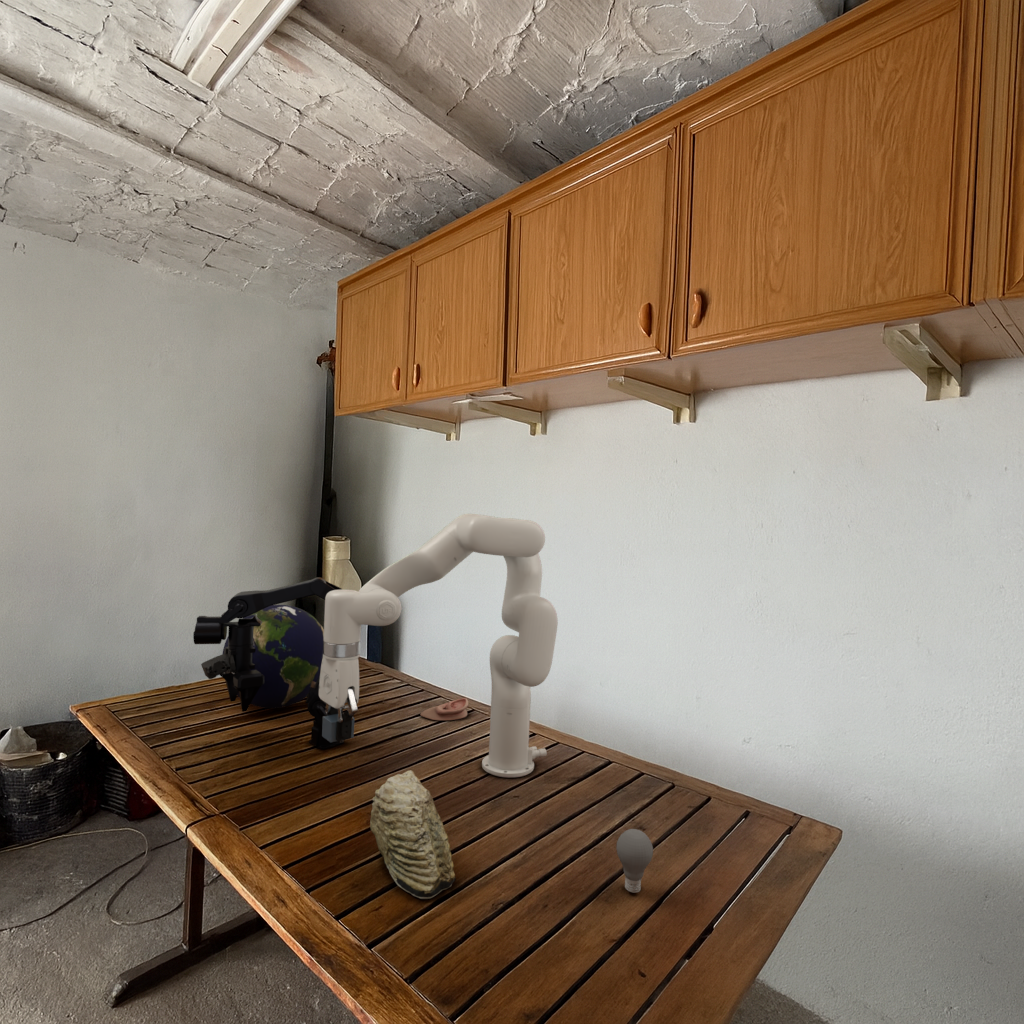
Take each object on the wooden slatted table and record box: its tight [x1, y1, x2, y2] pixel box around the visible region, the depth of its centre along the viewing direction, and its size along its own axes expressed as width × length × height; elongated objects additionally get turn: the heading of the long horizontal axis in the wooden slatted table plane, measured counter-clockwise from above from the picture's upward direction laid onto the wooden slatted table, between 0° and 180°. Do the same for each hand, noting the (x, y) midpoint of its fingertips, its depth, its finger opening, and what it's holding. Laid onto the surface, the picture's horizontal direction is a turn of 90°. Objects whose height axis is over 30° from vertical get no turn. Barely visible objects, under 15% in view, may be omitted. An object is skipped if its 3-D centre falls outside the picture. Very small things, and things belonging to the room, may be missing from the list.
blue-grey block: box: [322, 714, 356, 743], centre depth 133 cm, size 4×5×4 cm
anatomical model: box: [419, 697, 469, 721], centre depth 187 cm, size 13×4×12 cm
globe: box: [221, 604, 324, 709], centre depth 188 cm, size 30×30×30 cm
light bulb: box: [615, 828, 654, 894], centre depth 106 cm, size 6×6×10 cm
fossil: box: [369, 769, 456, 900], centre depth 109 cm, size 9×18×15 cm, turn 46°
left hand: (238, 706), depth 157 cm, fingers open, 9 cm apart
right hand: (338, 734), depth 133 cm, fingers closed on blue-grey block, 4 cm apart
